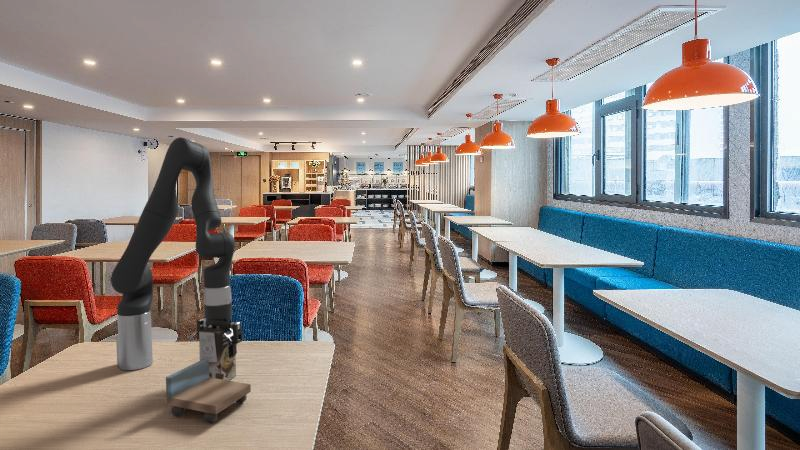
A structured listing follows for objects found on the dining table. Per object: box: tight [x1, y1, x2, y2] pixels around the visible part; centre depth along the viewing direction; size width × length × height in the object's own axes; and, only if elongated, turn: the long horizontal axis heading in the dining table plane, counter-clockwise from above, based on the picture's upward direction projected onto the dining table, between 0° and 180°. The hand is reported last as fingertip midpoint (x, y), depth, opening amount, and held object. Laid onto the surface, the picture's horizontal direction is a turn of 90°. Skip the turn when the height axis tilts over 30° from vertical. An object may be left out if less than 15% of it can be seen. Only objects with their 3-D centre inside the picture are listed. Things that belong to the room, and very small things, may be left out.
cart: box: [165, 359, 252, 425], centre depth 118 cm, size 15×13×10 cm
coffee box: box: [198, 327, 237, 381], centre depth 135 cm, size 9×6×16 cm
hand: (220, 355), depth 136 cm, fingers open, 8 cm apart
